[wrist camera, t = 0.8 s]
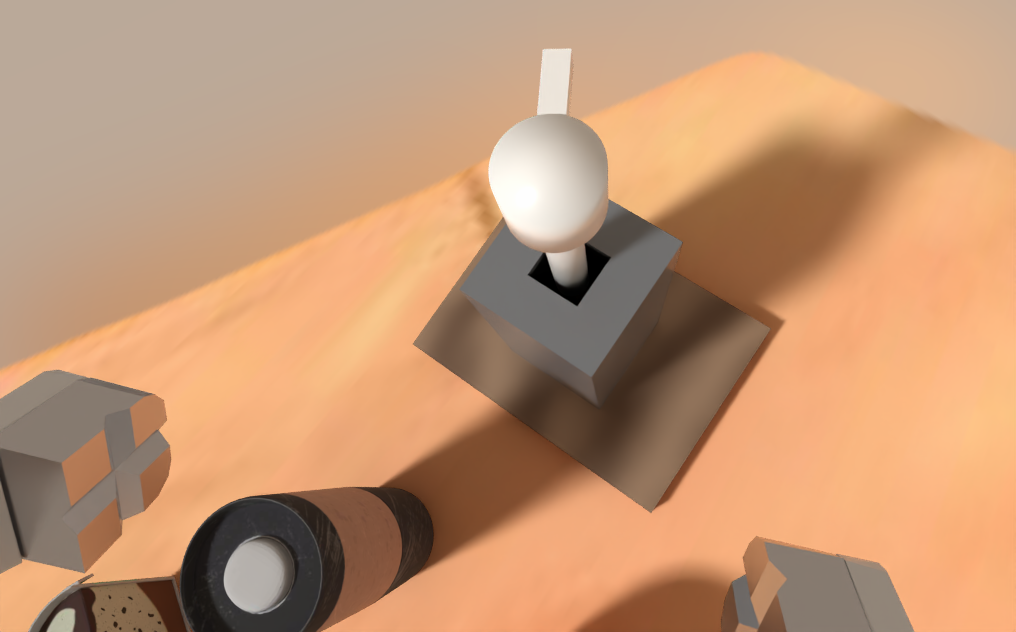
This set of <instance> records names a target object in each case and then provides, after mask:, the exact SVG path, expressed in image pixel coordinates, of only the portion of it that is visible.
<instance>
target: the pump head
mask: <svg viewBox="0 0 1016 632" xmlns="http://www.w3.org/2000/svg"><path fill="white" fill-rule="evenodd" d="M572 75H573V59H572V50H571V49H543V55H542V66H541V77H540V88H539V99H538V110H537V116H533V117H530V118H527V119H525V120H523V121H521V122H519V123H517V124H516V125H514V126H513V127H512V128H510V129H509V130H508V131H507V132H506V133H505V134H504V135H503V136H502V137H501V139H500V140H499V141H498V143H497V145H496V146H495V148H494V150H493V152H492V155H491V159H490V163H489V182H490V186H491V189H492V192H493V194H494V196H495V199H496V201H497V203H498V205H499V208H500V210H501V212H502V215H503V217H504V219H505V221H506V224H507V226H508V228H509V230H510V231H511V233H512V234H513V235H514V236H515V238H516V239H518V240H519V241H520V242H521V243H522V244H524V245H525V246H527V247H529V248H531V249H533V250H536V251H540V252H544V253H546V255H547V258H548V262H549V265H550V268H551V271H552V274H553V277H554V281H555V284H556V287H557V289H558V290H559V291H560V292H561V293H562V294H564V295H566V296H577V295H580V294H581V293H583V292H584V291H585V290H586V288H587V287H588V284H589V275H588V267H587V260H586V252H585V243H586V242H588V241H589V240H590V239H591V238H592V237H593V236H594V235H595V234H596V233H597V232H598V231H599V229H600V228H601V226H602V224H603V222H604V220H605V218H606V214H607V211H608V161H607V154H606V151H605V148H604V146H603V143H602V141H601V140H600V138H599V137H598V135H597V134H596V133H595V132H594V131H593V130H592V129H591V128H590V127H589V126H588V125H586V124H585V123H583V122H582V121H580V120H578V119H576V118H573V117H570V116H569V113H570V100H571V87H572Z"/></svg>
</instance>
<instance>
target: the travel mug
mask: <svg viewBox="0 0 1016 632" xmlns="http://www.w3.org/2000/svg"><path fill="white" fill-rule="evenodd" d="M432 544H433V526H432V521H431V518H430V515H429V513H428V511H427V509H426V508H425V506H424V505H423V504H422V502H421V501H420V500H419V499H418V498H416V497H415V496H414V495H412V494H411V493H409V492H407V491H404V490H401V489H396V488H383V487H343V488H333V489H322V490H312V491H302V492H291V493H281V494H270V495H260V496H250V497H246V498H242V499H238V500H236V501H233V502H231V503H228V504H227V505H225V506H223V507H221V508H220V509H218V510H217V511H216V512H214V513H213V514H212V515H211V516H210V517H208V518H207V519H206V520H205V521H204V523H203V524H202V525H201V526H200V527H199V529H198V530H197V531H196V533H195V535H194V536H193V538H192V540H191V541H190V543H189V545H188V548H187V550H186V553H185V556H184V559H183V563H182V567H181V574H180V597H181V603H182V608H183V611H184V614H185V617H186V619H187V621H188V624H189V626H190V628H191V629H192V631H193V632H321V631H323V630H325V629H327V628H329V627H331V626H332V625H334V624H336V623H338V622H340V621H342V620H344V619H346V618H347V617H349V616H351V615H353V614H355V613H357V612H359V611H361V610H363V609H364V608H366V607H368V606H370V605H372V604H373V603H375V602H376V601H378V600H379V599H381V598H382V597H384V596H385V595H387V594H388V593H390V592H391V591H393V590H394V589H396V588H397V587H399V586H400V585H402V584H403V583H405V582H406V581H407V580H409V579H410V578H411V577H413V576H414V575H415V574H416V573H417V572H418V571H419V570H420V569H421V568H422V567H423V566H424V564H425V563H426V561H427V559H428V557H429V555H430V552H431V549H432Z"/></svg>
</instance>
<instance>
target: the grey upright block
mask: <svg viewBox="0 0 1016 632" xmlns="http://www.w3.org/2000/svg"><path fill="white" fill-rule="evenodd" d="M682 244H683V242H682V241H680V240H679V239H677V238H675V237H673V236H672V235H670V234H668V233H666V232H665V231H663V230H661V229H660V228H658V227H656V226H654V225H653V224H651V223H649V222H647V221H646V220H644V219H642V218H640V217H639V216H637V215H635V214H633V213H632V212H630V211H628V210H627V209H625V208H623V207H621V206H620V205H618V204H616V203H614V202H613V201H611V200H609V199H608V211H607V214H606V218H605V220H604V222H603V224H602V226H601V228H600V229H599V231H598V232H597V233H596V234H595V235H594V236H593V237H592V238H591V239H590V240H589V241H588V242H586V243H585V252H586V260H587V267H588V275H589V284H588V286H589V287H590V289H589V290H588V292H587V293H586V295H585V296H584V297H583V299H582V300H581V302H580V303H579V305H578V306H575V305H574V304H572V303H571V302H569V301H568V300H566V299H564V298H563V297H561V296H560V295H559V294H560V293H561V292H560V291H559V290H558V289H557V287H556V284H555V281H554V277H553V274H552V271H551V268H550V265H549V262H548V258H547V255H546V253H544V252H540V251H536V250H533V249H531V248H529V247H527V246H525V245H524V244H522V243H521V242H520V241H519V240H518V239H516V238H515V236H514V235H513V234H512V233H511V231H510V230H509V228H508V226H507V224H505V226H504V227H503V229H502V230H501V231H500V233H499V234H498V236H497V237H496V238H495V240H494V241H493V243H492V244H491V245H490V247H489V248H488V250H487V251H486V253H485V254H484V255H483V257H482V258H481V260H480V261H479V262H478V264H477V265H476V267H475V268H474V269H473V271H472V272H471V274H470V275H469V276H468V278H467V279H466V281H465V282H464V283H463V285H462V286H461V288H460V289H459V290H460V291H461V292H462V293H463V294H464V295H465V297H466V298H467V299H468V300H469V301H470V302H471V303H472V305H473V306H474V307H475V308H476V309H477V310H478V312H479V313H480V314H481V315H482V316H483V317H484V319H485V320H486V321H487V322H488V323H489V324H490V326H491V327H492V328H493V329H494V330H495V331H496V332H497V334H498V335H499V336H500V337H501V338H502V339H503V341H504V342H505V343H506V344H507V345H508V346H509V348H510V349H511V350H512V351H513V352H515V353H516V354H518V355H519V356H521V357H522V358H524V359H525V360H527V361H528V362H530V363H531V364H532V365H534V366H535V367H537V368H538V369H540V370H541V371H543V372H544V373H546V374H547V375H549V376H550V377H552V378H553V379H555V380H556V381H558V382H559V383H560V384H562V385H563V386H565V387H566V388H568V389H569V390H571V391H572V392H574V393H575V394H577V395H578V396H580V397H581V398H583V399H584V400H586V401H587V402H589V403H590V404H591V405H593V406H594V407H596V408H597V409H599V410H600V408H601V407H602V405H603V404H604V402H605V401H606V399H607V398H608V396H609V395H610V393H611V392H612V390H613V389H614V387H615V386H616V384H617V383H618V381H619V380H620V379H621V377H622V376H623V374H624V373H625V371H626V370H627V368H628V367H629V365H630V364H631V362H632V361H633V359H634V358H635V356H636V355H637V353H638V352H639V350H640V349H641V347H642V346H643V344H644V343H645V341H646V340H647V338H648V337H649V335H650V334H651V332H652V331H653V329H654V328H655V326H656V325H657V323H658V322H659V319H660V315H661V312H662V309H663V306H664V302H665V299H666V296H667V293H668V289H669V286H670V283H671V280H672V276H673V273H674V270H675V267H676V263H677V260H678V257H679V254H680V250H681V247H682Z"/></svg>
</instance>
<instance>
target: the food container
mask: <svg viewBox="0 0 1016 632" xmlns="http://www.w3.org/2000/svg"><path fill="white" fill-rule="evenodd" d="M92 576H94V575H93V573H92V574H90V575H88V576H86V577H84V578H82V579H80V580H78V581H76V582H75V583H73V584H72V585H70V586H68V587H67V588H66V589H64V590H63V591H62V592H61V593H60V594H58V595H57V596H56V597H55V598H54V599H52V600H51V601H50V602H49V603H48V604H47V605H46V606H45V608H44V609H43V610H42V611H41V612H40V613H39V615H38V616H37V618H36V619H35V621H34V622H33V624H32V625H31V627H30V629H29V631H28V632H191V630H190V627H189V624H188V621H187V619H186V617H185V614H184V611H183V608H182V603H181V597H180V593H179V590H178V587H177V583H176V580H175V577H174V576H169V577H157V578H145V579H134V580H122V581H111V582H99V583H87V584H81V583H83V582H84V581H86V580H87V579H89V578H91V577H92Z"/></svg>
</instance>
